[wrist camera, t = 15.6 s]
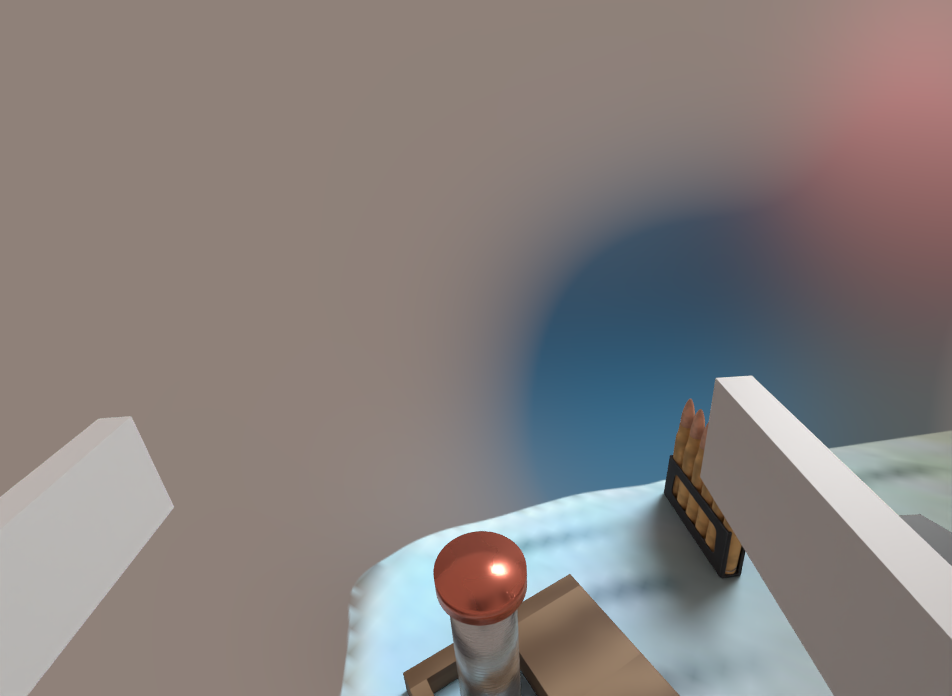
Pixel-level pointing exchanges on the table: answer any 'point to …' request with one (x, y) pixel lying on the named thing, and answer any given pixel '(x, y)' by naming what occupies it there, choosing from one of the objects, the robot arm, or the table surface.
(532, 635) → the walnut plate
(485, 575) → the steel pin
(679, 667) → the table surface
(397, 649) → the table surface
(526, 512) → the table surface
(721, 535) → the ammunition clip
